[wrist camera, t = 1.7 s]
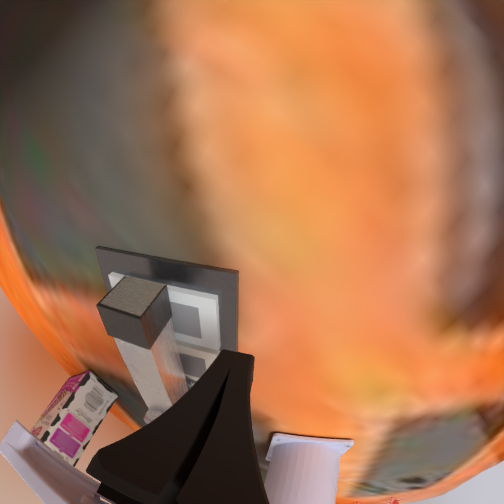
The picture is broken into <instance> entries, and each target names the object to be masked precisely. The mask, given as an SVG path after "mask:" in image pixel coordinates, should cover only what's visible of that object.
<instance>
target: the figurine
mask: <svg viewBox="0 0 504 504" xmlns="http://www.w3.org/2000/svg"><path fill="white" fill-rule="evenodd" d="M402 500H403V499H402ZM398 501H400V500H398ZM398 501H397V500H396V499H395V500H394V501H393V497H392V498H391V502H389V503H390V504H399V503H398ZM357 504H359V502H357ZM383 504H386V503H383Z"/></svg>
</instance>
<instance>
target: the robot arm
mask: <svg viewBox="0 0 504 504" xmlns="http://www.w3.org/2000/svg"><path fill="white" fill-rule="evenodd" d="M253 371H254V356H253V355H250V354H245V353H240V352H235V351H230V350H226V349H223V350H221V351H220V353H219V354H218V356H217V357H216V359H215V360H214V361H213V363H212V364H211V365H210V367H209V368H208V369H207V370H206V371H205V373H204V374H203V375H202V376H201V377H200V378H199V379H198V381H197V382H196V383H195V384H194V385H193V386H192V387H191V388H190V389H189V390H188V391H187V392H186V393H185V394H184V395H183V396H182V397H181V398H180V399H179V400H178V401H177V402H176V403H174V404H173V405H172V406H171V407H170V408H169V409H167V410H166V411H165V412H164V413H162V414H161V415H160V416H158V417H157V418H156V419H154V420H153V421H151V422H150V423H149V424H147V425H146V426H144V427H142V428H141V429H139V430H137V431H136V432H134V433H132V434H130V435H129V436H127V437H125V438H123V439H121V440H119V441H117V442H115V443H113V444H110V445H108V446H106V447H103V448H101V449H99V450H98V452H97V453H96V454H95V455H94V457H93V458H92V460H91V462H90V464H89V465H88V467H87V469H86V472H87V473H88V474H89V475H91V476H92V477H94V478H96V479H97V480H99V481H100V482H101V484H100V483H98V482H96V481H95V480H93V479H92V478H90V477H88V476H87V475H85V474H84V473H82V472H81V471H79V470H78V469H76V468H75V467H74V466H72V465H71V464H69V463H68V462H66V461H65V460H64V459H62V458H61V457H60V456H58V455H57V454H56V453H55V452H53V450H52V449H51V448H50V447H48V446H47V445H46V444H45V443H43V442H42V441H41V440H40V439H39V438H37V437H36V436H35V435H33V434H32V433H31V432H29V431H28V430H27V429H26V428H25V427H24V426H23V425H22V424H20V423H19V422H18V421H17V420H16V421H15V422H14V424H13V425H12V427H11V428H10V430H9V431H8V433H7V434H6V436H5V438H4V439H3V441H2V442H1V444H0V453H1V454H2V455H3V456H4V457H5V459H6V460H7V461H8V462H9V463H10V464H11V466H12V467H13V468H14V469H15V470H16V471H17V473H18V474H19V475H20V476H21V478H22V479H23V480H24V481H25V482H26V484H27V485H28V486H29V487H30V488H31V489H32V490H33V492H35V494H36V495H37V496H38V497H39V498H40V499H41V500H42V502H43V503H44V504H109V503H106V502H104V501H102V500H100V497H101V498H103V499H105V500H107V501H108V502H110V503H112V504H335V499H336V492H337V484H338V475H339V466H340V457H341V456H342V455H343V454H344V453H345V452H346V451H348V450H349V449H350V448H351V447H352V446H353V445H354V441H353V440H342V439H326V438H314V437H304V436H296V435H288V434H281V433H275V434H273V437H272V441H271V444H270V447H269V450H268V453H267V456H266V460H267V461H270V464H269V468H268V472H267V477H266V480H265V484H263V480H262V477H261V473H260V468H259V464H258V460H257V455H256V450H255V444H254V438H253V431H252V422H251V410H250V392H251V386H252V381H253Z"/></svg>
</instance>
